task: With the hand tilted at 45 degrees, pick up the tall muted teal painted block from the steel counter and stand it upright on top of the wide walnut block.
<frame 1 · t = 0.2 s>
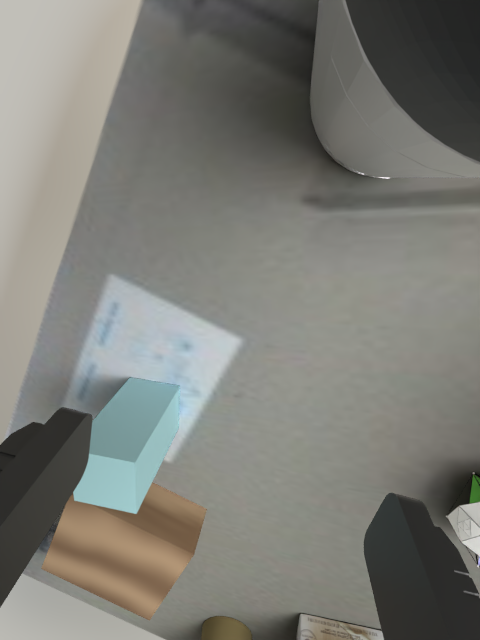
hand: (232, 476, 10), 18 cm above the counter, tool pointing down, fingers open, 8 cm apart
teal block: (154, 403, 32), on the counter
walnut block: (135, 515, 38), on the counter
coffee box: (337, 635, 40), on the counter
cork: (227, 630, 43), on the counter
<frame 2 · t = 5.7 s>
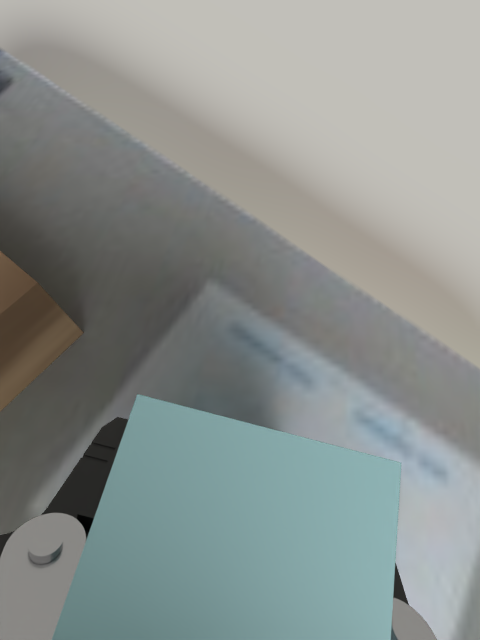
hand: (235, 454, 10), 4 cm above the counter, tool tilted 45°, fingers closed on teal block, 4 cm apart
teal block: (214, 509, 13), on the counter, touching gripper
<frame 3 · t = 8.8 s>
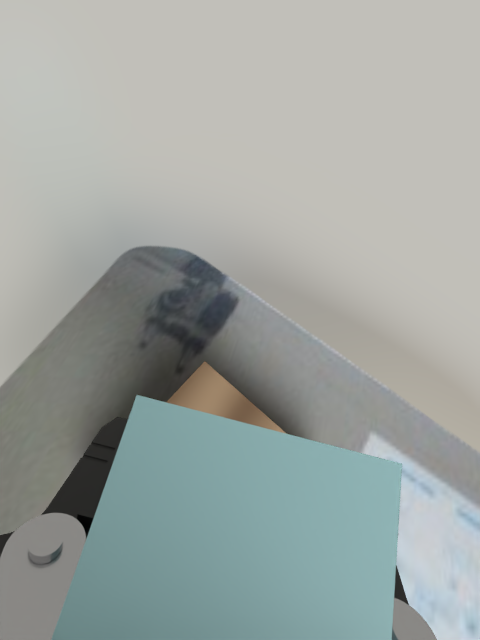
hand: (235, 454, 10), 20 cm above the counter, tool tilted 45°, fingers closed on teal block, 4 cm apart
teal block: (214, 509, 13), point 16 cm above the counter, touching gripper
walnut block: (208, 481, 28), on the counter
when the fingers open (10 cm above the counter, at t = 11.8 s): teal block drops 1 cm, point 5 cm above the counter.
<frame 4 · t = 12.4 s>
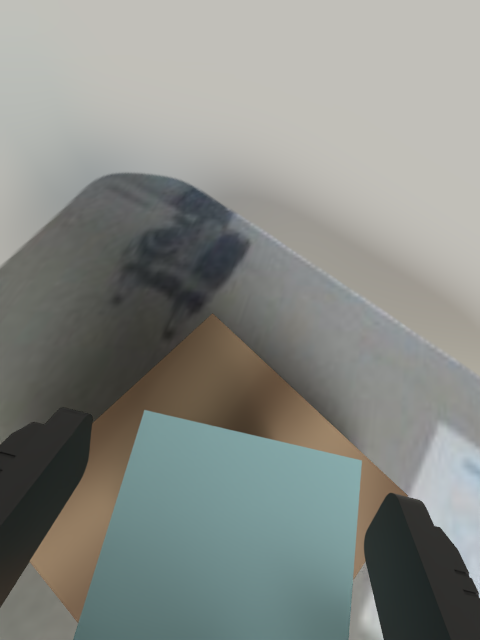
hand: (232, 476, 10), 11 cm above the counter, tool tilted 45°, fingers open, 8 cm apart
teal block: (213, 506, 15), point 5 cm above the counter
walnut block: (209, 493, 19), on the counter
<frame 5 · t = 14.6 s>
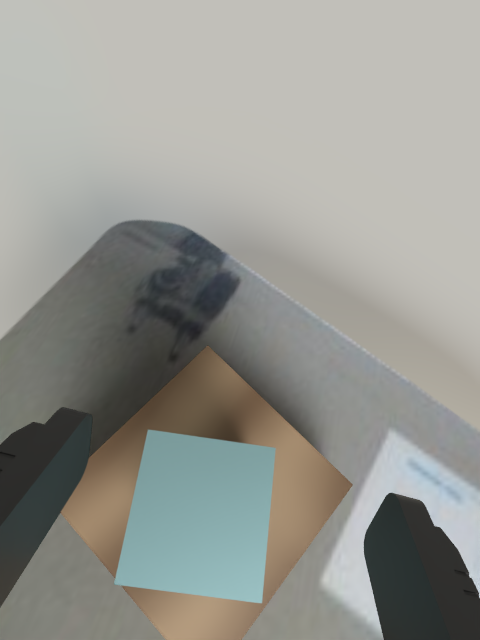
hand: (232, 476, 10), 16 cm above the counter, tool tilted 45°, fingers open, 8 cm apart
teal block: (203, 490, 20), point 5 cm above the counter, touching walnut block
walnut block: (205, 484, 25), on the counter, touching teal block
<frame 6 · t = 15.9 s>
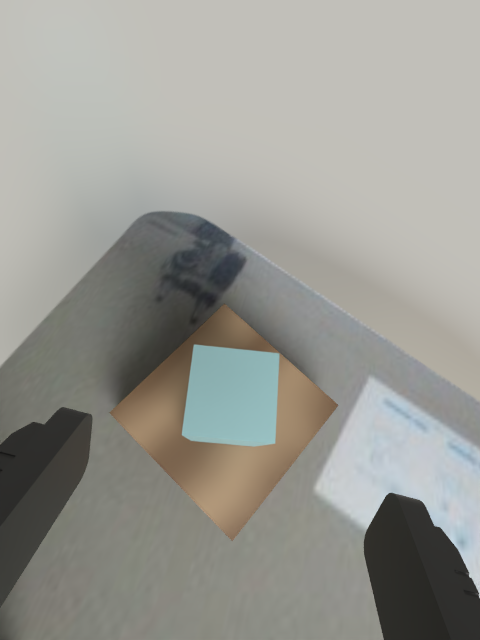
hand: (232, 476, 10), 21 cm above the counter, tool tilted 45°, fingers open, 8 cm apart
teal block: (225, 411, 26), point 5 cm above the counter
walnut block: (223, 416, 31), on the counter
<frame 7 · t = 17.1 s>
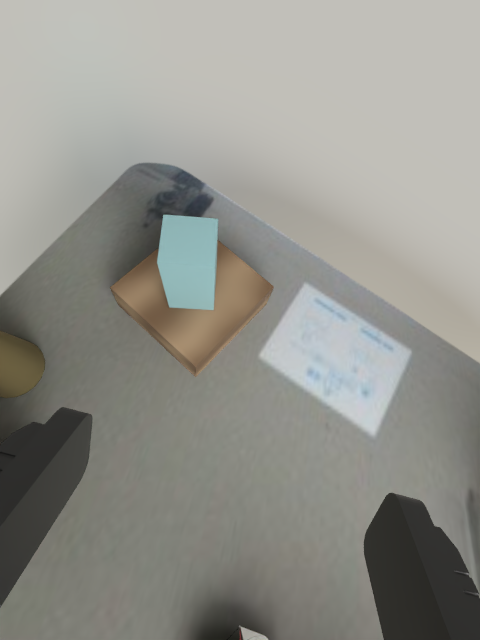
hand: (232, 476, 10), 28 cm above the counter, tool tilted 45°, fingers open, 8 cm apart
teal block: (193, 288, 37), point 5 cm above the counter
walnut block: (194, 306, 42), on the counter
cork: (14, 368, 37), on the counter
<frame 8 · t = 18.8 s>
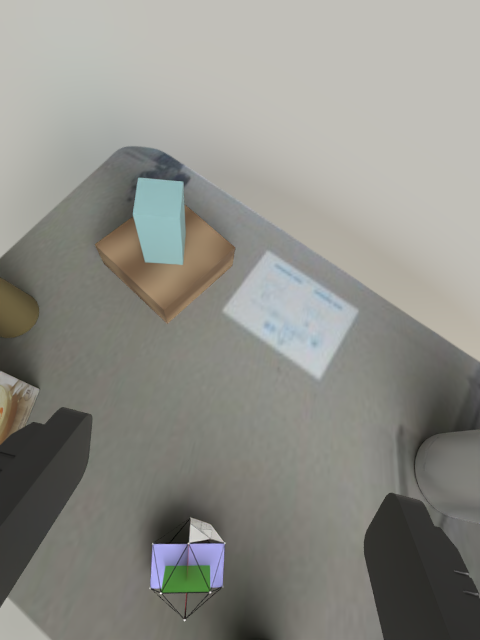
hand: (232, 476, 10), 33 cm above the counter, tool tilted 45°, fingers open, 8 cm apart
teal block: (165, 247, 44), point 5 cm above the counter
geometric puzzle: (189, 556, 37), on the counter
walnut block: (169, 266, 49), on the counter
cork: (13, 315, 44), on the counter
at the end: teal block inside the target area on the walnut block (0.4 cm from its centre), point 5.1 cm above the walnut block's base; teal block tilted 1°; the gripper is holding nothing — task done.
